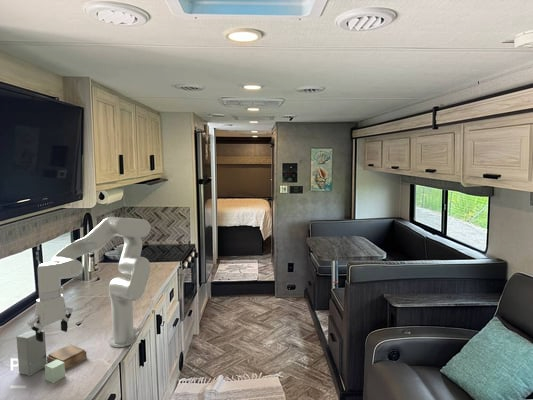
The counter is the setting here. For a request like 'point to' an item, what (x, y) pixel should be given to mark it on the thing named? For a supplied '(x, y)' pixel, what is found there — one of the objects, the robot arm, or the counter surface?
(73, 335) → the counter surface
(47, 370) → the sage block
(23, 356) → the skincare box
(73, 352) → the walnut pedestal
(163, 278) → the counter surface
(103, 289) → the counter surface
